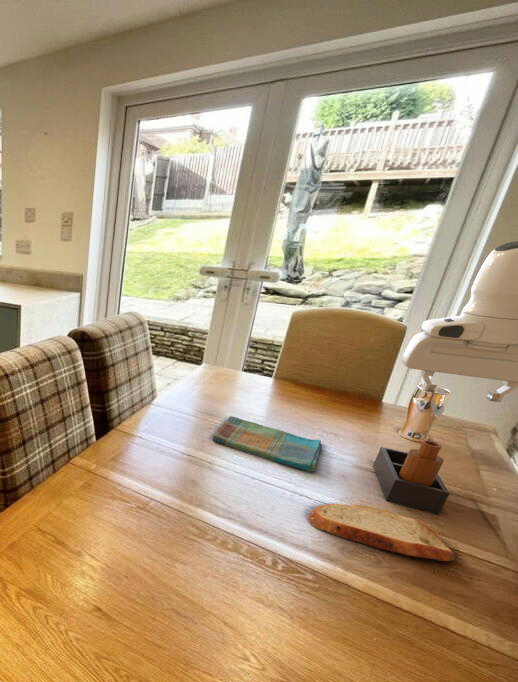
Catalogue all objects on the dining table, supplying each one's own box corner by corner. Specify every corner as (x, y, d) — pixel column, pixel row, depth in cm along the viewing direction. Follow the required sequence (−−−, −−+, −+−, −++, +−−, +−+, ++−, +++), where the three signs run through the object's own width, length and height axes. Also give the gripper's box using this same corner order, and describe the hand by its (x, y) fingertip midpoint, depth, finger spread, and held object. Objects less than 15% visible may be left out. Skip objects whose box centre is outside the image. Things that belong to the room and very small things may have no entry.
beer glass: (390, 432, 115) (410, 385, 109) (406, 429, 117) (426, 382, 111) (419, 444, 109) (442, 395, 103) (435, 441, 110) (459, 392, 105)
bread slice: (298, 517, 82) (304, 502, 80) (354, 497, 88) (360, 483, 86) (404, 587, 66) (412, 570, 65) (463, 557, 72) (472, 541, 71)
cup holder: (418, 476, 95) (427, 456, 93) (438, 515, 83) (449, 493, 80) (372, 465, 99) (380, 446, 97) (385, 500, 87) (395, 479, 85)
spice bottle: (420, 491, 88) (445, 441, 83) (427, 504, 84) (453, 453, 79) (390, 484, 91) (412, 435, 86) (395, 496, 87) (418, 445, 82)
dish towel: (313, 476, 95) (317, 467, 94) (211, 442, 109) (213, 434, 108) (321, 447, 107) (324, 439, 106) (228, 420, 121) (230, 413, 120)
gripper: (564, 333, 72) (528, 401, 77) (413, 320, 83) (390, 381, 88) (584, 341, 67) (545, 413, 73) (422, 326, 78) (397, 390, 83)
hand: (459, 395), depth 80 cm, fingers open, 8 cm apart
